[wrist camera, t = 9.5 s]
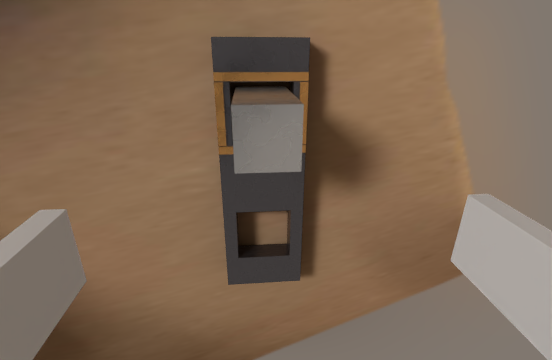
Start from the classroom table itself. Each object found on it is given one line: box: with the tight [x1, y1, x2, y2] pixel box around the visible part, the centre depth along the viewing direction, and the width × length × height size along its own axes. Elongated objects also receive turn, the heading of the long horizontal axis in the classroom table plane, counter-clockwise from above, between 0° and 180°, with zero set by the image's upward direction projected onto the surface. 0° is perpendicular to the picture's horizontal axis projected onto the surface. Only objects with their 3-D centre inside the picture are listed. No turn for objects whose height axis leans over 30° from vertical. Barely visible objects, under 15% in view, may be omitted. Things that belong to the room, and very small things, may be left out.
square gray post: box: [231, 86, 304, 174], centre depth 28 cm, size 5×5×12 cm
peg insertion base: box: [211, 37, 310, 285], centre depth 35 cm, size 9×28×3 cm, turn 0°
